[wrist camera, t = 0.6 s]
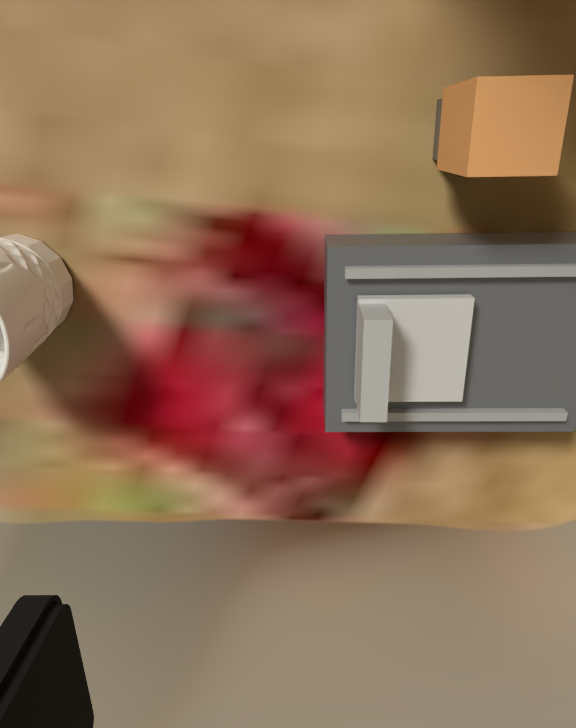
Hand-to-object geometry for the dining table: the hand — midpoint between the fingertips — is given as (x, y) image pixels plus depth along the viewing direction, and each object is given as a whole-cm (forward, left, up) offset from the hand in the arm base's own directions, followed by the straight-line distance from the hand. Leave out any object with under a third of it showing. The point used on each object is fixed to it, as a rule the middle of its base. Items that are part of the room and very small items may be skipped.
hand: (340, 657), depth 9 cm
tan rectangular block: (-8, +9, -28) cm, 31 cm away
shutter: (+4, +6, -24) cm, 25 cm away
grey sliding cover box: (+4, +9, -28) cm, 30 cm away
